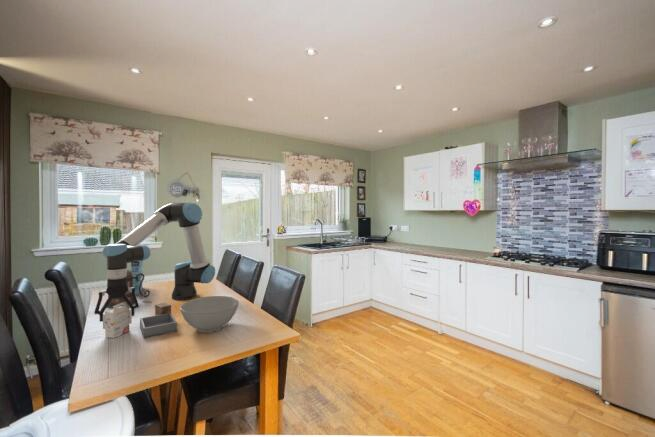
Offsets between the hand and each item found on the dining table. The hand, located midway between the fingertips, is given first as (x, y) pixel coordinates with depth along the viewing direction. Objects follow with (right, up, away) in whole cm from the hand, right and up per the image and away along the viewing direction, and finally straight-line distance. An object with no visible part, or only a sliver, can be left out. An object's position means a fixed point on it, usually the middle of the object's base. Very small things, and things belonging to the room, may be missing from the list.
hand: (117, 325), depth 137 cm
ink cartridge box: (0, -4, 0) cm, 4 cm away
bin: (+15, -4, +6) cm, 17 cm away
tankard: (-26, -3, +45) cm, 52 cm away
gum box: (-36, -2, +70) cm, 78 cm away
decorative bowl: (+40, -5, +9) cm, 41 cm away
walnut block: (+11, -4, +19) cm, 22 cm away
